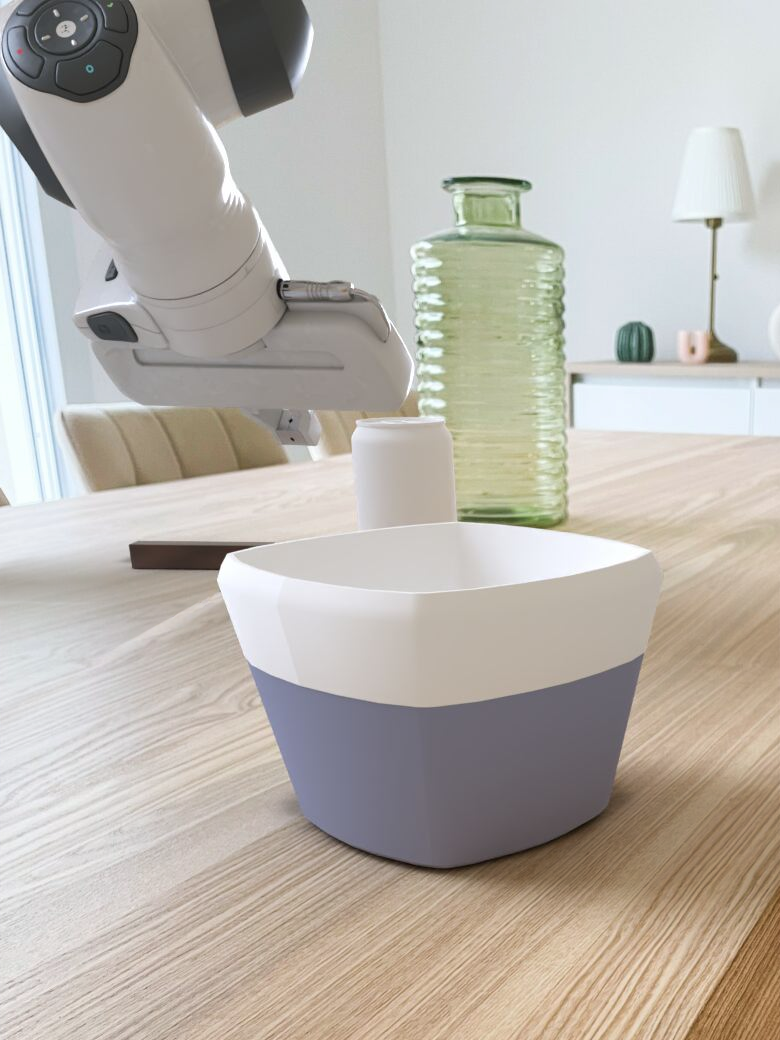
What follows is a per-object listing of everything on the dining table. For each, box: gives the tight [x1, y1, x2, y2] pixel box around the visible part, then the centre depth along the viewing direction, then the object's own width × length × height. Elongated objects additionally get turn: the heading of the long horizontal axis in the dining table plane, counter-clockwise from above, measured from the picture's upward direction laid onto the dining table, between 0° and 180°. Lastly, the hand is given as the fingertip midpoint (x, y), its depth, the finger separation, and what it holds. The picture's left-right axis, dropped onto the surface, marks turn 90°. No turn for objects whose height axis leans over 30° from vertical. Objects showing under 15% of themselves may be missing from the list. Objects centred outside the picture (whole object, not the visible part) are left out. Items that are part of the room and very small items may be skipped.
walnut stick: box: [128, 540, 277, 570], centre depth 110 cm, size 12×2×2 cm, turn 88°
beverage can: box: [350, 416, 458, 531], centre depth 107 cm, size 8×8×12 cm
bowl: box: [216, 521, 665, 869], centre depth 54 cm, size 15×15×11 cm
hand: (300, 438), depth 91 cm, fingers closed
